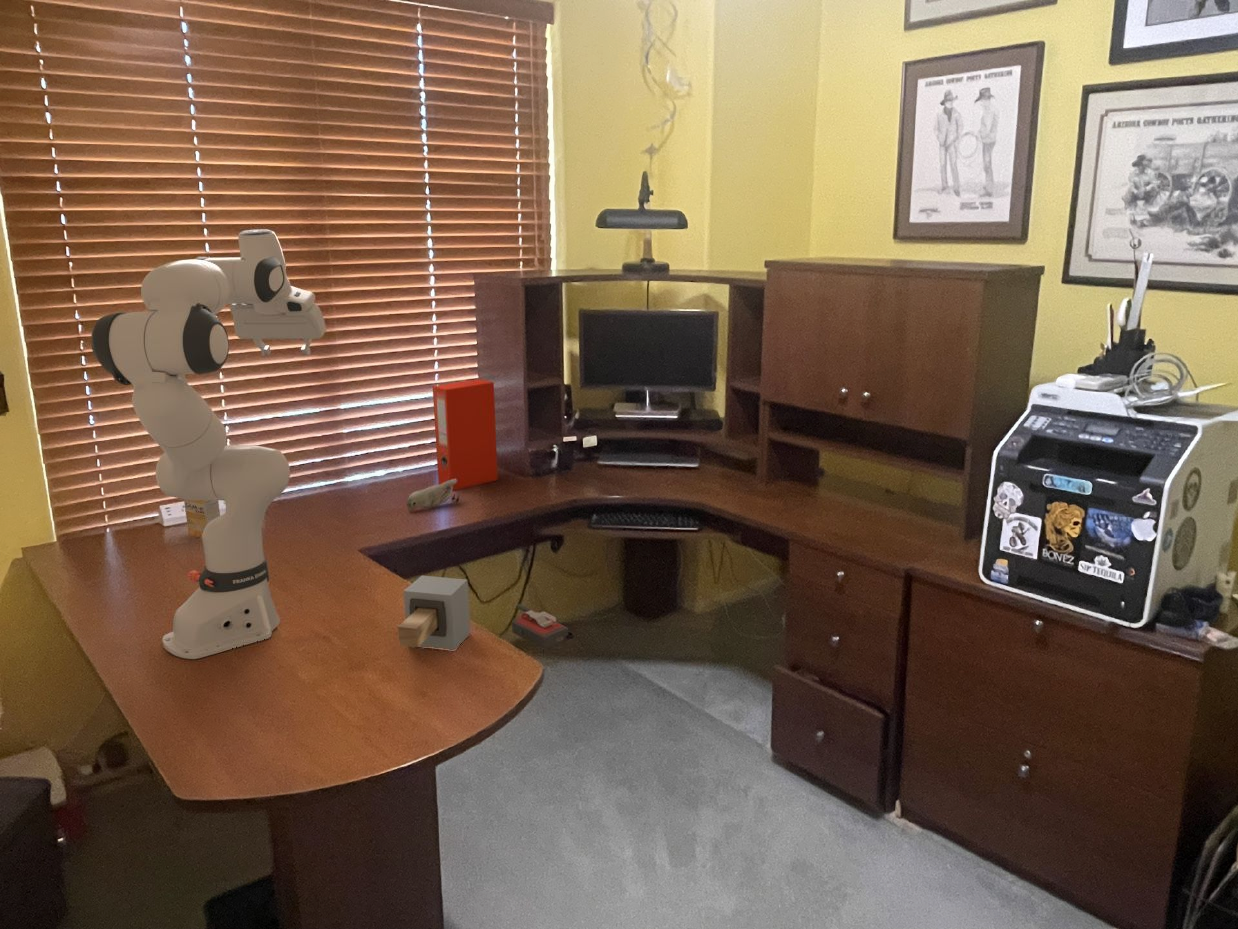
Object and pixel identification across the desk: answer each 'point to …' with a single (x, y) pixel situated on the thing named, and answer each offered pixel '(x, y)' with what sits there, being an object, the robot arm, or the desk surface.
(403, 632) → the peg
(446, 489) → the decorative bird
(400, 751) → the desk surface
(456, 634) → the housing
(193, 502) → the supplement box
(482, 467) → the file binder
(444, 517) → the desk surface
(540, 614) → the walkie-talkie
